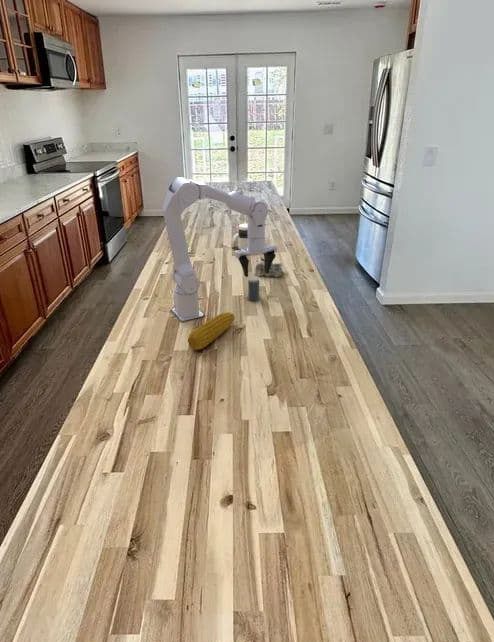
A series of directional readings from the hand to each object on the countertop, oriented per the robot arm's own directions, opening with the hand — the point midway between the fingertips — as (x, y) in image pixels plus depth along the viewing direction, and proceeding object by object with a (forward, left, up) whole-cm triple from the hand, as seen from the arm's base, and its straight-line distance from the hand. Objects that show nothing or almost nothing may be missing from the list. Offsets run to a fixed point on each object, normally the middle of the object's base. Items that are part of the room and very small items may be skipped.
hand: (256, 274), depth 150 cm
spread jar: (-51, +22, -10) cm, 57 cm away
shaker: (-1, 0, -10) cm, 10 cm away
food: (+16, -24, -10) cm, 31 cm away
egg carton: (-19, +17, -10) cm, 27 cm away
